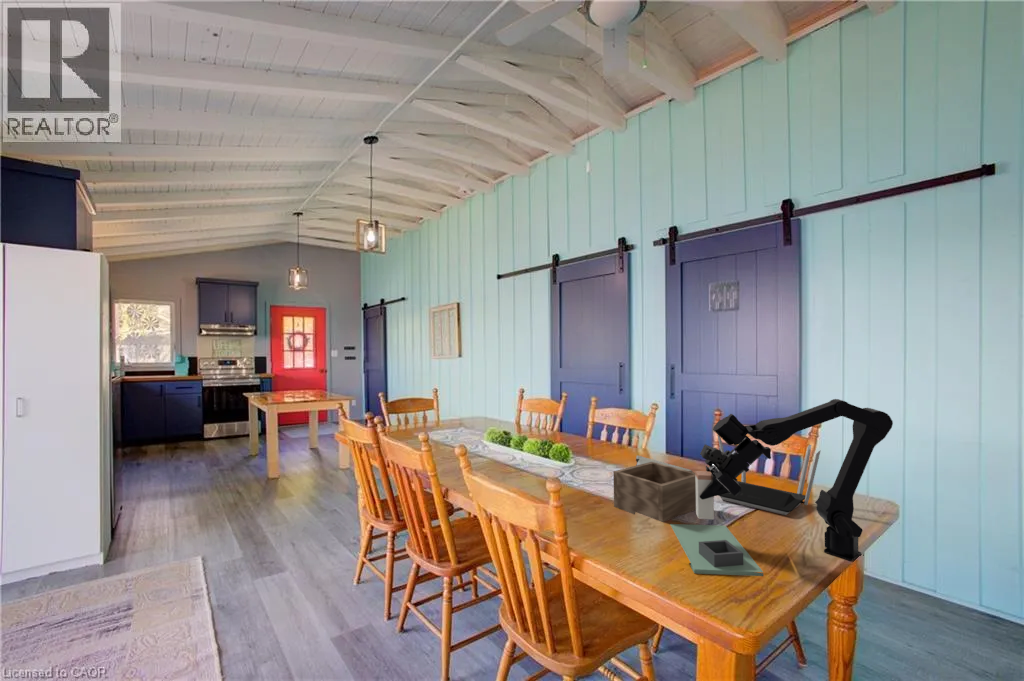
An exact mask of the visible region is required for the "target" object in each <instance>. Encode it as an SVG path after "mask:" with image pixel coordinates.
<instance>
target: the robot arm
mask: <svg viewBox="0 0 1024 681" xmlns="http://www.w3.org/2000/svg"><path fill="white" fill-rule="evenodd" d="M840 417H844V418H846V419H849V420H852V421H853V423H852V441H851V443H850V445H849V447H848V450H847V453H846V455H845V457H844V459H843V462H842V463H841V466H840V469H839V471H838V474H837V476H836V479H835V480H834V483H833V485H832V487H831V488H829V490H827V491H825V490H823V489H821V490H820V492H819V494H818V495H819V496H818V498H817V500H815V504H816V512H817V513H818V516H819V517H821V518H822V519H823V520H824V522H825V524H827V525H828V526H826V531H825V532H824V549H823V553H826V554H828V555H829V554H830V555H832V556H835V557H838V558H841V559H844V560H847V561H853V560H855V559H856V558H858V557H859V556H861V555H862V552H861V551H859V538H860V537H861V535H862V533H863V531H864V530H863V528H862V527H860V526H859V524H858V523H856V522H855V521H854V520H853V516H854V510H855V508H854V495H855V493H856V490H857V489H858V487H859V483H860V481H861V480H862V477H863V474H864V471H865V470H866V468H867V464H868V463H869V460H870V458H871V455H872V453H873V450H874V448H875V447H876V446H877V445H878V444H879V443H880V442H881V441H883V440H884V439H885V438H886V437H887V435H888V434H889V432H890V431H891V429H892V427H893V424H894V421H893V420H892V418H891V416H890V415H889V414H888V413H886V412H885V411H881V410H878V409H875V408H871V407H859V406H856V405H853V404H851V403H849V402H847V401H845V400H843V399H838V398H834V399H831V400H829V401H827V402H825V403H822V404H819V405H817V406H814V407H811V408H808V409H806V410H803V411H799V412H796V413H794V414H792V415H789V416H786V417H785V416H784V417H775V418H770V419H768V418H767V419H764V420H763V419H762V420H759V421H758V422H756V423H755V424H750V425H745V424H742V423H741V421H739V419H738V418H737V416H735V415H734V414H733V413H730V414H728V415H727V416H725V417H724V418H722V419H720V420H718V421H717V422H716V424H715V425H714V426H713V428H712V431H713V432H715V434H717V435H719V437H720V438H721V440H723V441H724V442H725V443H726V444H727V445H728V446H732V445H733V446H735V447H734V448H733V449H731V450H728V449H727V450H724V453H723V452H721V450H720V449H718V448H717V447H712V446H710V445H707V444H704V445H703V447H702V449H701V450H700V453H699V454H700V456H701V458H703V459H705V460H704V463H705V464H706V466H705V471H709V472H711V473H712V474H711V482H710V484H709V485H708V486H707V487H706V488H705V490H704V491H703V492H702V493H701V495H700V498H701V499H702V500H703V499H707V498H710V497H717V496H718V495H722V494H726V493H732V494H733V495H734V496H737V495H738V494H739V493H740V492H741V486H740V485H739V484H738V483H737V482H736V481H738V479H737V478H738V477H739V476H740V475H742V472H743V471H744V470H745V471H746V473H748V472H749V471H750V469H749V467H750V465H753V463H754V462H755V461H757V460H758V459H759V458H760V457H761V456H762V455H763V456H765V457H766V458H767V459H769V460H771V459H772V456H771V455H772V454H771V450H772V449H771V447H772V446H779V445H780V444H781V443H783V442H785V441H786V440H788V439H790V438H791V437H792V436H793V435H794V434H796V433H798V432H800V431H803V430H806V429H808V428H812V427H815V426H817V425H820V424H823V423H825V422H828V421H829V422H830V421H832V420H834V419H837V418H840ZM748 435H749V436H750V437H752V438H753V440H752V439H751V438H750V437H749V436H748ZM744 438H745V439H744ZM761 442H762V443H763V444H766V445H767V446H765V445H763V444H762V443H761ZM769 446H771V447H769ZM718 497H719V496H718Z"/></svg>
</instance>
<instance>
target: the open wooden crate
mask: <svg viewBox="0 0 1024 681" xmlns="http://www.w3.org/2000/svg"><path fill="white" fill-rule="evenodd" d="M612 474H613V507H614V508H617V509H619V510H622V511H624V512H627V513H630V514H632V515H636V513H637V514H640V515H643V516H645V517H648V518H649V519H654V520H655V521H656V520H657V521H658V522H661V523H664V522H668V521H669V520H673V519H675V518H678V517H680V516H683V515H686V514H688V513H691V512H694V511H696V481H695V471H694V472H690V471H686V470H682V469H678V468H675V467H671V466H667V465H663V464H659V463H655V462H649V463H645V464H641V465H637V466H636V465H634V466H630V467H626V468H622V469H621V468H620V469H617V470H614V471H613V473H612Z"/></svg>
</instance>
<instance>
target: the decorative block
mask: <svg viewBox="0 0 1024 681" xmlns="http://www.w3.org/2000/svg"><path fill="white" fill-rule="evenodd" d="M635 461H636V465H635V466H637V465H641V464H645V463H649V462H655V463H659V464H663V465H667V466H671V467H675V468H678V469H682V470H686V471H690V472H693V469H689V468H685V467H682V466H677V465H674V464H670V463H667V462H664V461H659V460H656V459H653V458H650V457H649V458H648V457H644V456H642V455H637V454H636V457H635Z"/></svg>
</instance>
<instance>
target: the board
mask: <svg viewBox="0 0 1024 681" xmlns="http://www.w3.org/2000/svg"><path fill="white" fill-rule="evenodd" d="M669 525H670V527H671V529H672V531H673V532H674V534H675V537H676V538H677V540H678V542H679V544H680V546H681V548H682V549H683V551H684V553H685V555H686V557H687V558H688V560H689V562H688V564H689V566H690V568H691V570H692V572H693V573H694V574H697V575H698V574H700V575H727V576H730V575H731V576H750V577H764V571H763V569H762V568H761V567H760V566H759V565H758V564H757V562H756V561H755V560H754V559H753V557H752V556H751V555H750V554H749V552H748V551H747V550H746V549H745V548H744V547H743V545H742V544H741V543H740V542H739V541H738V540H737V537H736V536H734V534H733V532H732V531H730V530H729V528H728V527H727V526H726V525H717V524H712V525H711V524H689V523H688V524H687V523H686V524H679V523H678V524H677V523H670V524H669ZM717 540H727V541H728V542H730V543H731V544H732V545H733V546H735V547H736V548H737V549H739V550H740V551H741V552H743V565H736V566H724V567H714V566H713V565H711V564H710V563H709V562H708V561H707V560H706V559H705V558H704V557H703V556H701V555H700V554H699V542H703V541H717Z"/></svg>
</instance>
